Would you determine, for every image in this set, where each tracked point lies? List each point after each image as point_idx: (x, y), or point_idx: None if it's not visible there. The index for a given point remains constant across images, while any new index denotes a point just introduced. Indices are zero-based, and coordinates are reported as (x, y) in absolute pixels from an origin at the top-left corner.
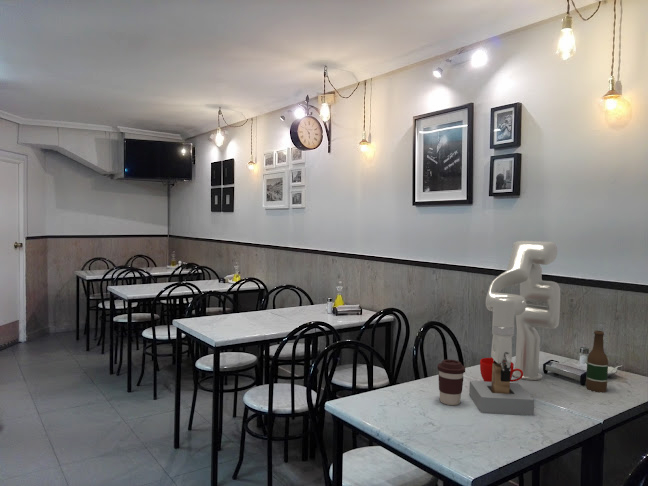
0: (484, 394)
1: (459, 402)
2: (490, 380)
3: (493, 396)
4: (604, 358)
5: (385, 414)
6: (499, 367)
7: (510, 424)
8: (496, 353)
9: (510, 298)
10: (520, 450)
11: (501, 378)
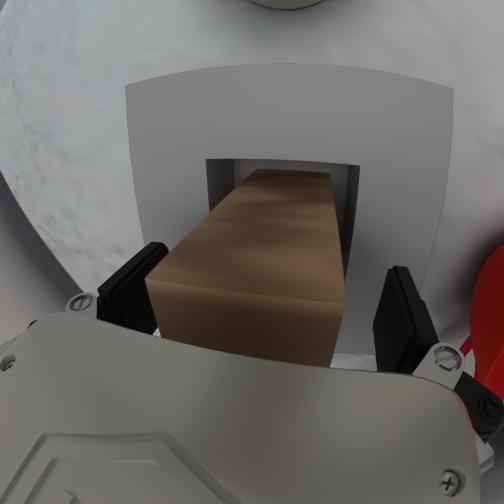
0: (169, 104)
1: (256, 2)
2: (501, 257)
3: (148, 153)
4: None
5: None
6: (153, 310)
7: (96, 182)
8: (12, 423)
9: None
10: (9, 172)
11: (143, 253)
